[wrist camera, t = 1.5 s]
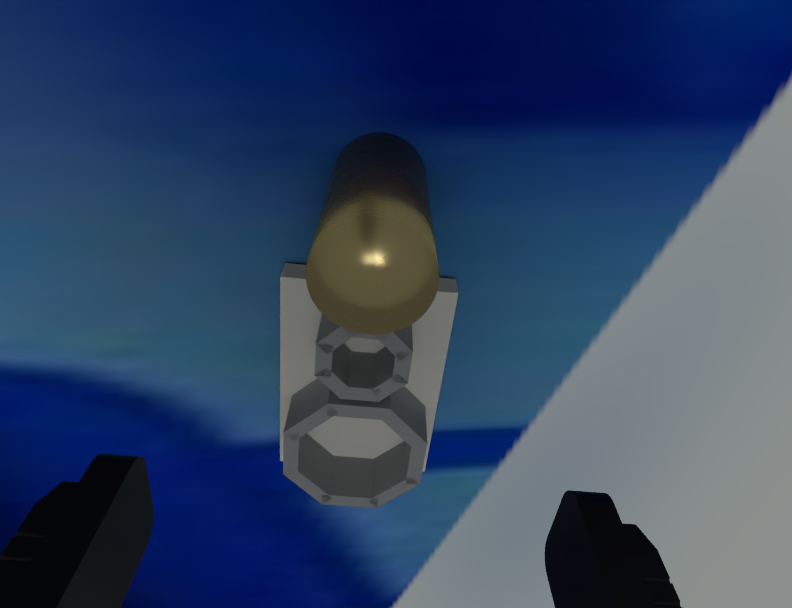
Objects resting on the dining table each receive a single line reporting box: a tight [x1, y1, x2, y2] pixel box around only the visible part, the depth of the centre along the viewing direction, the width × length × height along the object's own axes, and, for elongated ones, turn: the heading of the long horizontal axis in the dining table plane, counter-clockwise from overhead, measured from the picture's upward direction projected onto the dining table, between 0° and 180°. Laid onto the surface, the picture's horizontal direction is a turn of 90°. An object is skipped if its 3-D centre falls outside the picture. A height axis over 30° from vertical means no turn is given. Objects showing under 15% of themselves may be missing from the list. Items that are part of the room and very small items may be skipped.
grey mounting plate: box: [280, 263, 458, 508], centre depth 31 cm, size 13×9×4 cm
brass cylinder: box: [306, 133, 439, 335], centre depth 23 cm, size 4×4×10 cm
